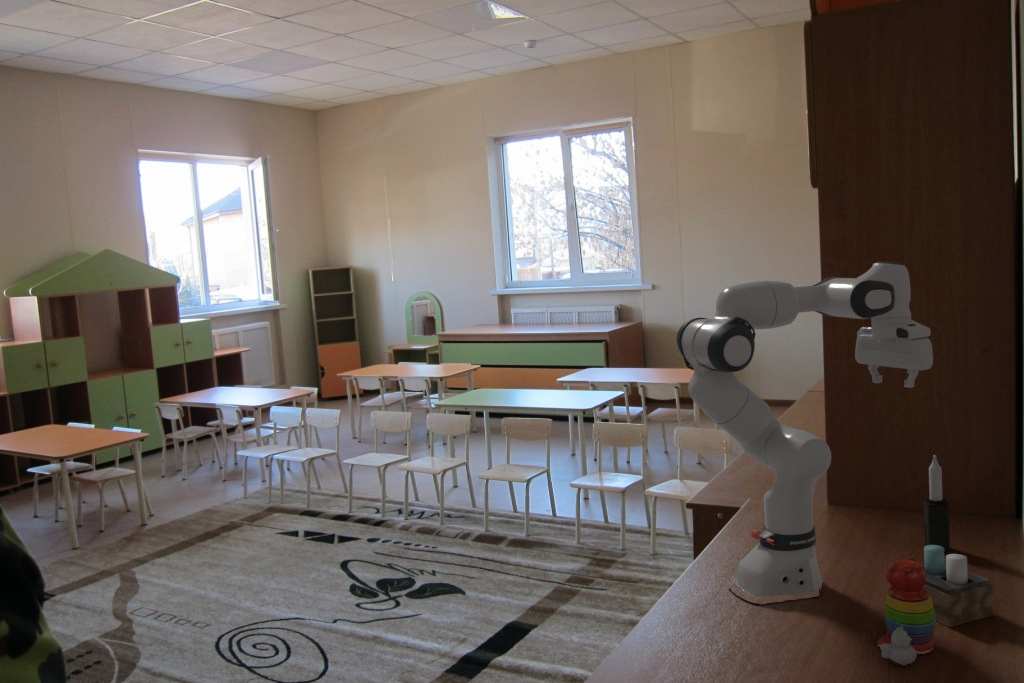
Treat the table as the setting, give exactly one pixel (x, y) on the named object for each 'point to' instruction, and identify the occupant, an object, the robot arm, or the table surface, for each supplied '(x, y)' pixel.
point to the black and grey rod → (936, 510)
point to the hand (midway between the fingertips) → (893, 384)
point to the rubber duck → (899, 647)
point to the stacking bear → (909, 605)
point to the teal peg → (934, 559)
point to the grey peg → (956, 569)
